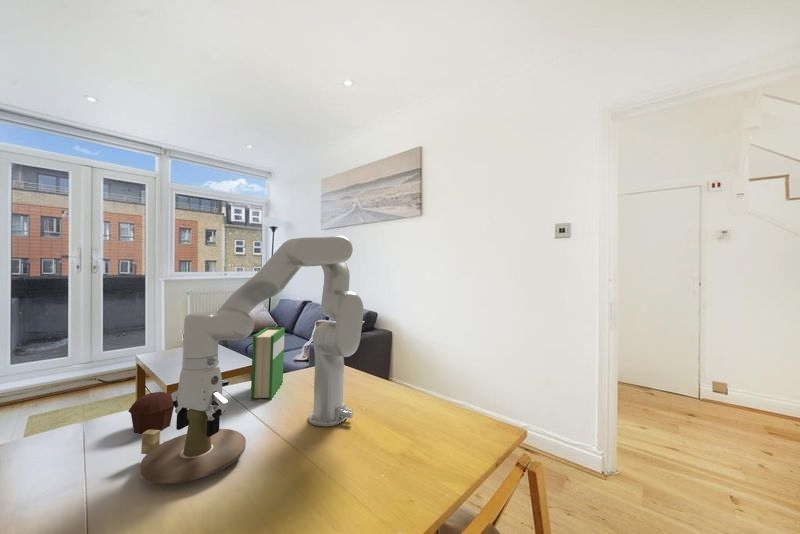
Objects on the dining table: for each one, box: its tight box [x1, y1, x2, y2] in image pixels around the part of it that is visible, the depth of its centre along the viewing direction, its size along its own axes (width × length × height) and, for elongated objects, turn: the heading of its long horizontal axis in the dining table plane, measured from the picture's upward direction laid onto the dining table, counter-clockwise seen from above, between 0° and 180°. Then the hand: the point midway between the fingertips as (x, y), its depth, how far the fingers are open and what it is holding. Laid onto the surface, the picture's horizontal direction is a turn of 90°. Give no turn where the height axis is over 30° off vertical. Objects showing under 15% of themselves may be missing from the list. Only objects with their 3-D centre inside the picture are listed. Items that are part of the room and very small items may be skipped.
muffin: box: [128, 391, 175, 435], centre depth 96 cm, size 12×11×10 cm
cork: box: [183, 405, 212, 457], centre depth 80 cm, size 6×6×11 cm
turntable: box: [139, 428, 247, 484], centre depth 79 cm, size 23×22×5 cm
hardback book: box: [250, 327, 286, 401], centre depth 127 cm, size 18×7×24 cm, turn 7°
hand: (197, 430), depth 80 cm, fingers open, 9 cm apart
